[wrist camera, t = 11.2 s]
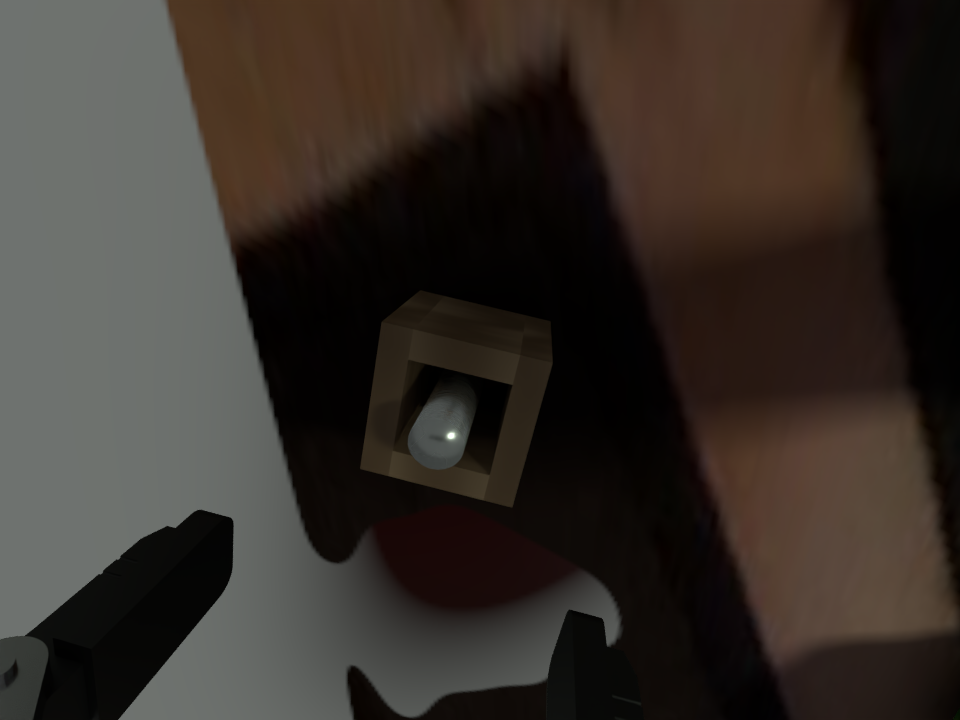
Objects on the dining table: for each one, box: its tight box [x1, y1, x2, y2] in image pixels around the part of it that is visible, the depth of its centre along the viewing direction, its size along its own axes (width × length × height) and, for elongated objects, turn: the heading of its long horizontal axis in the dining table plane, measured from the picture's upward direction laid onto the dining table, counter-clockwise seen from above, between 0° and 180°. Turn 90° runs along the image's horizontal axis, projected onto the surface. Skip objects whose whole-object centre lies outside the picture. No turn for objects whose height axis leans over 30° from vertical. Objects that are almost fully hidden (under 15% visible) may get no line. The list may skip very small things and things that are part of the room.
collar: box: [360, 290, 553, 507], centre depth 22 cm, size 6×6×6 cm
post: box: [408, 365, 508, 470], centre depth 21 cm, size 6×6×9 cm
